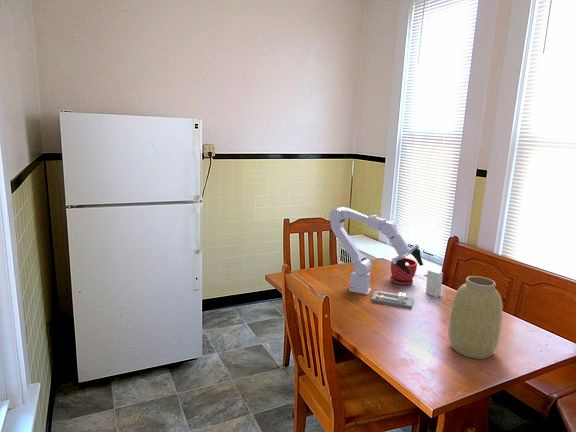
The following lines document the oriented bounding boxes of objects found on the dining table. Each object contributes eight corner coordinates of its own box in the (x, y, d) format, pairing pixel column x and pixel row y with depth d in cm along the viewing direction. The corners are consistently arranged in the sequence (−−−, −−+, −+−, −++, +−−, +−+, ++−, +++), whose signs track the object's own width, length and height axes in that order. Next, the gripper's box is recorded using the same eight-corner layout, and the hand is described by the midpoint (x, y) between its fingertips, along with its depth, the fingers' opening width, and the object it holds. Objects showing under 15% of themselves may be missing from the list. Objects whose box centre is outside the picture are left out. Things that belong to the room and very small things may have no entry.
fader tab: (397, 300, 189) (398, 294, 188) (398, 297, 192) (399, 291, 192) (404, 301, 188) (405, 296, 187) (405, 298, 191) (406, 293, 191)
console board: (371, 301, 191) (371, 296, 190) (375, 294, 200) (375, 289, 199) (411, 309, 184) (411, 304, 184) (413, 301, 193) (414, 296, 193)
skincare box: (441, 295, 201) (443, 272, 199) (436, 297, 198) (438, 273, 196) (429, 291, 206) (432, 268, 203) (424, 293, 203) (427, 270, 201)
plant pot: (389, 285, 212) (391, 263, 210) (389, 276, 225) (391, 255, 222) (415, 288, 209) (418, 266, 207) (413, 279, 222) (416, 258, 219)
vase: (503, 350, 152) (515, 282, 146) (485, 368, 140) (496, 294, 134) (458, 333, 164) (467, 269, 158) (437, 347, 152) (446, 279, 146)
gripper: (389, 250, 184) (406, 276, 182) (414, 234, 188) (431, 260, 186) (384, 253, 191) (400, 278, 189) (408, 237, 194) (424, 262, 193)
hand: (415, 269), depth 188 cm, fingers open, 7 cm apart
